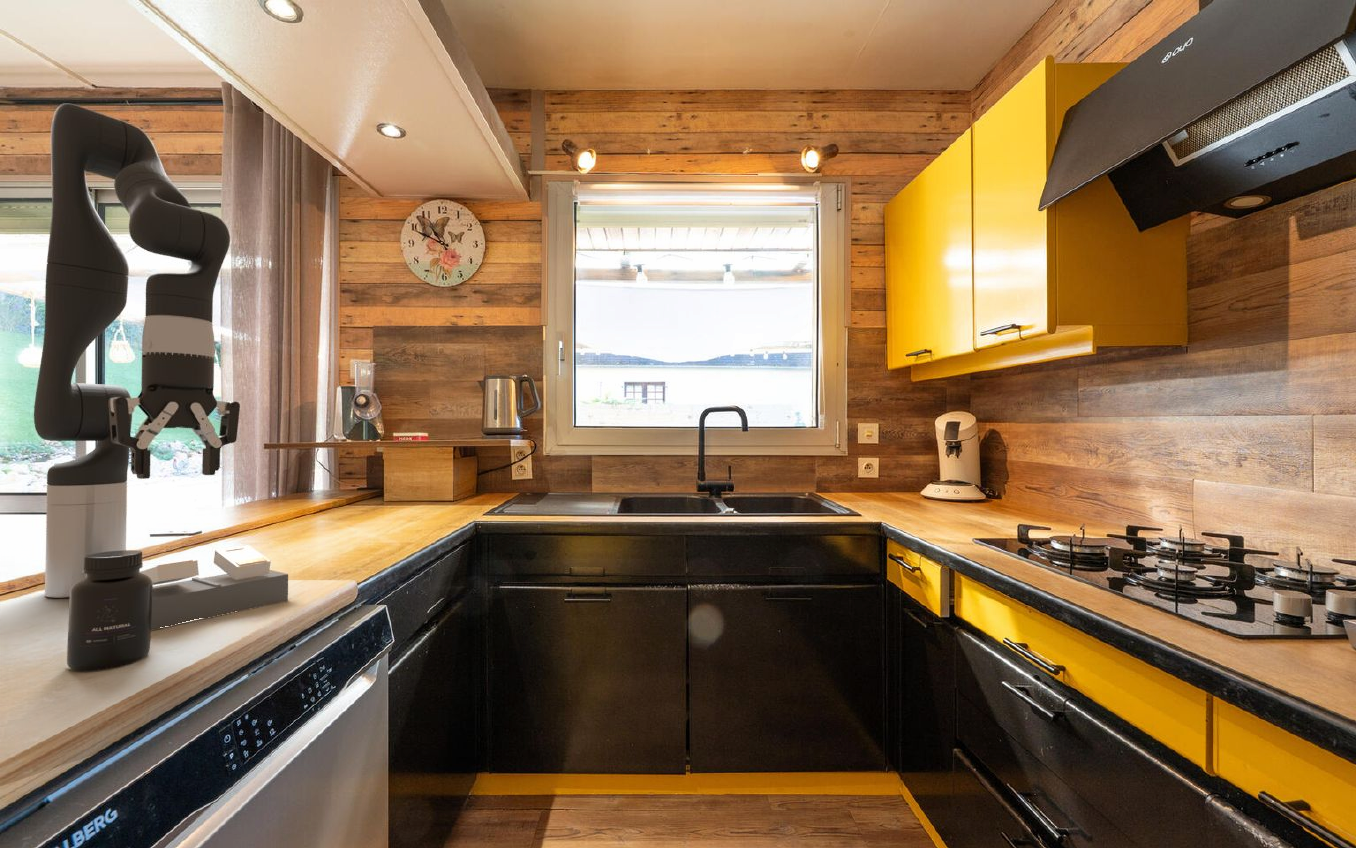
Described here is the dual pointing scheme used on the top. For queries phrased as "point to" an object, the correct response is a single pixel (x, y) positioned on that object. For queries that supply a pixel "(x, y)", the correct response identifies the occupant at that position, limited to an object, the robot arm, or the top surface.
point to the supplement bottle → (110, 612)
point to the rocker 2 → (242, 562)
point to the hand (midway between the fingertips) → (176, 476)
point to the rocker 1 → (172, 572)
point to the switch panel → (214, 597)
